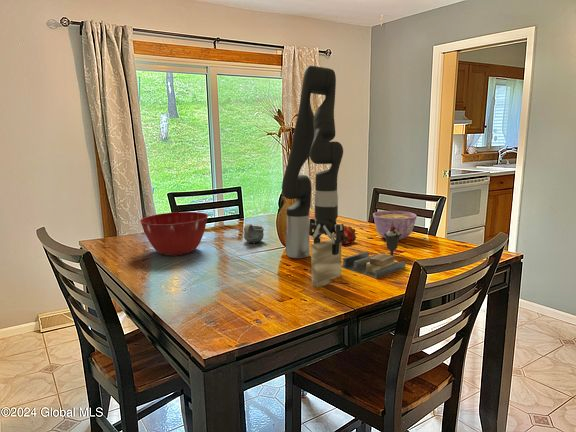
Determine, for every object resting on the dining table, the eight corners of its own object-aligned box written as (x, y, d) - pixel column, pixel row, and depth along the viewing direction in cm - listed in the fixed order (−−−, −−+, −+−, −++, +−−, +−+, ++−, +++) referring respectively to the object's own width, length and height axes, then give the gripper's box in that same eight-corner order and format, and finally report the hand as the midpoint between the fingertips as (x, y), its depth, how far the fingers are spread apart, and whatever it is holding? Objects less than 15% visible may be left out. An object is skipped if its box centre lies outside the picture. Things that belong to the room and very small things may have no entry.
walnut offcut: (369, 263, 146) (369, 258, 146) (381, 258, 152) (381, 253, 151) (382, 266, 143) (382, 261, 142) (393, 261, 148) (394, 255, 148)
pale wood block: (311, 285, 139) (311, 244, 136) (334, 277, 146) (334, 238, 143) (317, 287, 137) (317, 246, 134) (341, 280, 144) (341, 240, 141)
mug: (266, 240, 200) (266, 219, 198) (259, 246, 188) (259, 225, 186) (247, 239, 202) (246, 219, 200) (239, 246, 190) (238, 224, 188)
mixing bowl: (128, 256, 177) (124, 220, 174) (175, 240, 202) (172, 209, 199) (179, 264, 164) (176, 226, 161) (222, 247, 189) (221, 213, 186)
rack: (339, 270, 154) (339, 258, 153) (368, 261, 163) (368, 250, 163) (376, 282, 141) (376, 269, 140) (405, 272, 150) (405, 260, 150)
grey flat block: (366, 271, 148) (366, 263, 147) (384, 265, 154) (384, 257, 153) (379, 275, 143) (380, 267, 142) (397, 269, 149) (398, 261, 149)
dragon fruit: (349, 243, 198) (346, 253, 187) (335, 232, 198) (331, 242, 187) (360, 229, 195) (357, 239, 184) (345, 219, 195) (341, 228, 184)
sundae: (388, 262, 162) (389, 224, 159) (380, 257, 169) (381, 221, 166) (403, 260, 164) (404, 223, 161) (394, 256, 170) (396, 220, 167)
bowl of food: (421, 243, 189) (422, 218, 187) (376, 244, 189) (377, 219, 187) (409, 233, 208) (410, 210, 206) (369, 233, 209) (369, 211, 207)
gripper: (303, 202, 139) (303, 249, 142) (333, 208, 128) (333, 258, 132) (319, 200, 144) (319, 245, 147) (350, 205, 133) (349, 254, 136)
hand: (326, 251), depth 139 cm, fingers open, 8 cm apart
